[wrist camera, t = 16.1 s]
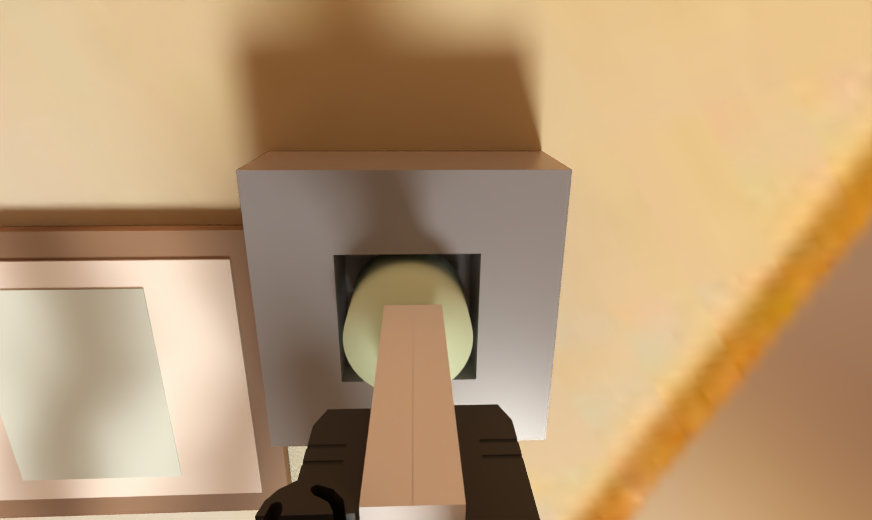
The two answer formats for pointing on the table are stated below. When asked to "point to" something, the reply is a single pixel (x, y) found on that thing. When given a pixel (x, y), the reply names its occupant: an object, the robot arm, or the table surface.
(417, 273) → the button
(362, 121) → the table surface
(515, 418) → the button console
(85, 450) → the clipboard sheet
